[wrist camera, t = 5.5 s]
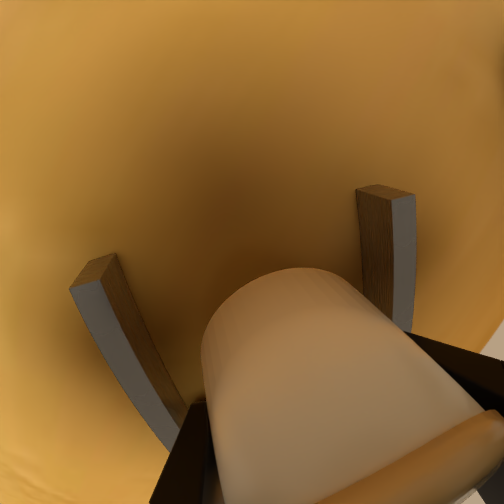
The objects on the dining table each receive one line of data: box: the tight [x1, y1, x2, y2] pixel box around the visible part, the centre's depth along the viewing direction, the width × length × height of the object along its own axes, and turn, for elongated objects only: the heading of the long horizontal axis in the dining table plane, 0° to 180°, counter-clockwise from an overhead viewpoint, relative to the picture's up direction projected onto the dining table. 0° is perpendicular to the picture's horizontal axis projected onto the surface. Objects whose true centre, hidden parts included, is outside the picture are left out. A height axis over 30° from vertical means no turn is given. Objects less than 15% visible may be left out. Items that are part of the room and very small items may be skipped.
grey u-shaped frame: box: [69, 185, 416, 452], centre depth 13 cm, size 12×15×3 cm
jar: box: [201, 268, 504, 504], centre depth 6 cm, size 6×6×7 cm
